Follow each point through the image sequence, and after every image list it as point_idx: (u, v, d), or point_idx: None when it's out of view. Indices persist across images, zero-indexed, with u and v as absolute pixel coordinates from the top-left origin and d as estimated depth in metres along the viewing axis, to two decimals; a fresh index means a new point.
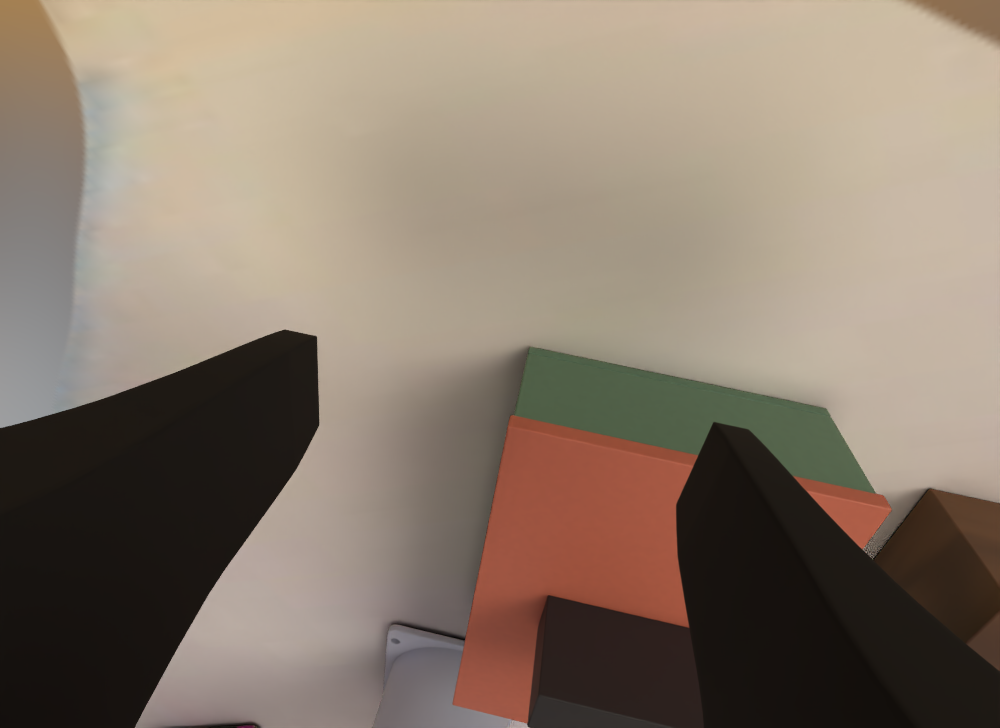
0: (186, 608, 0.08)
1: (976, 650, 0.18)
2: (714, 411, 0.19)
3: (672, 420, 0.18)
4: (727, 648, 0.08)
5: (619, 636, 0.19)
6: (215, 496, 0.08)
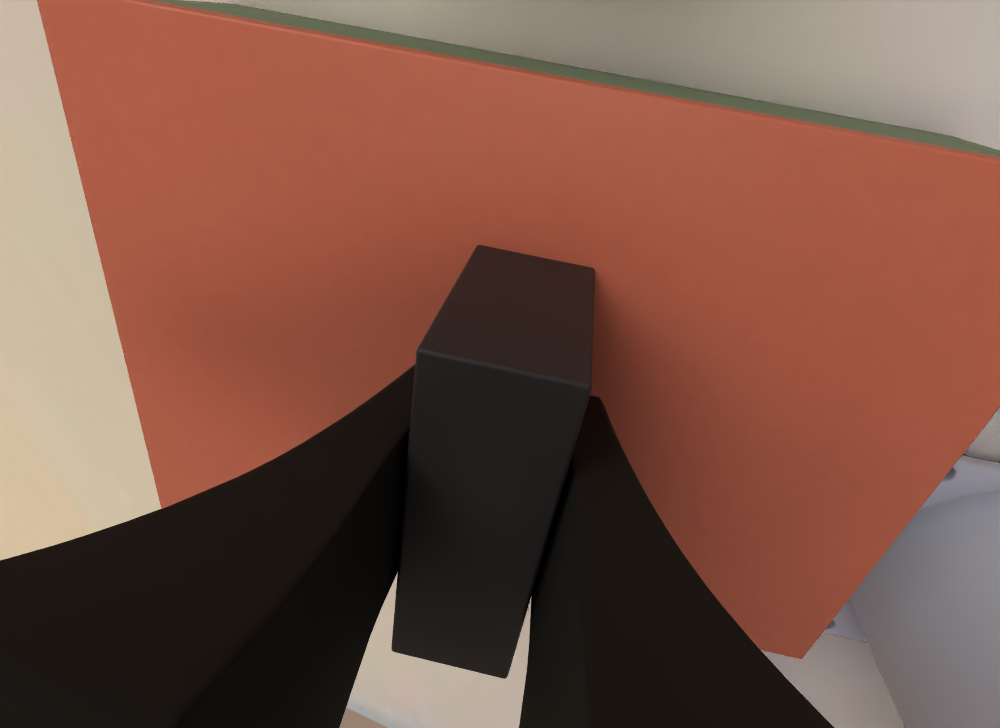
0: (360, 650, 0.08)
1: None
2: None
3: None
4: (542, 604, 0.08)
5: None
6: (388, 536, 0.08)
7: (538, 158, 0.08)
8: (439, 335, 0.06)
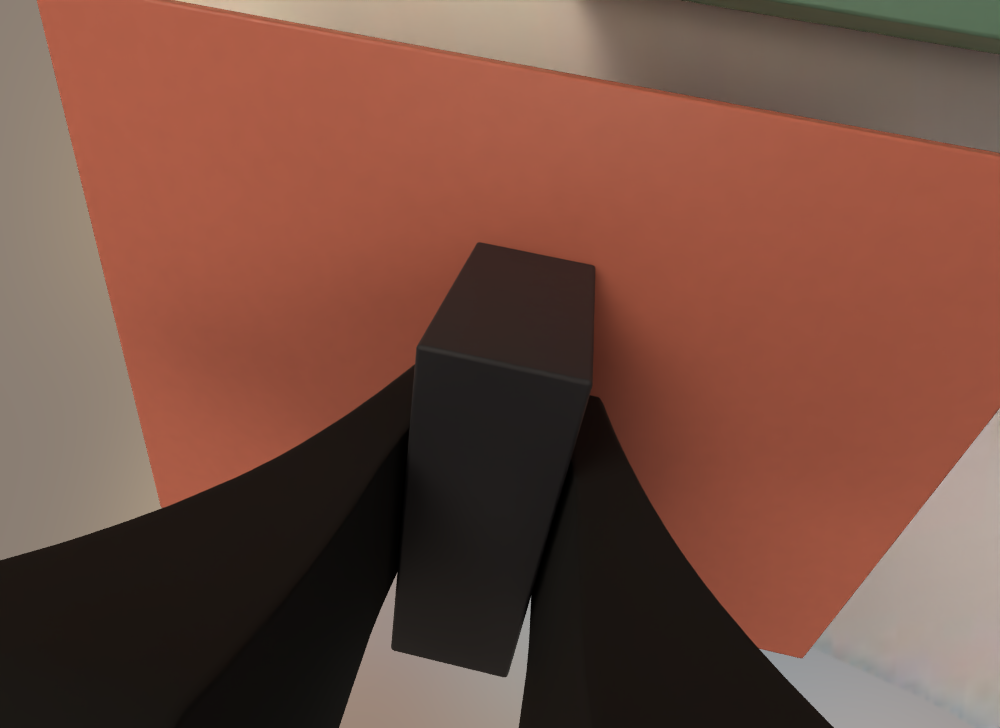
0: (360, 650, 0.08)
1: None
2: None
3: None
4: (542, 604, 0.08)
5: None
6: (387, 536, 0.08)
7: (539, 155, 0.08)
8: (439, 332, 0.06)
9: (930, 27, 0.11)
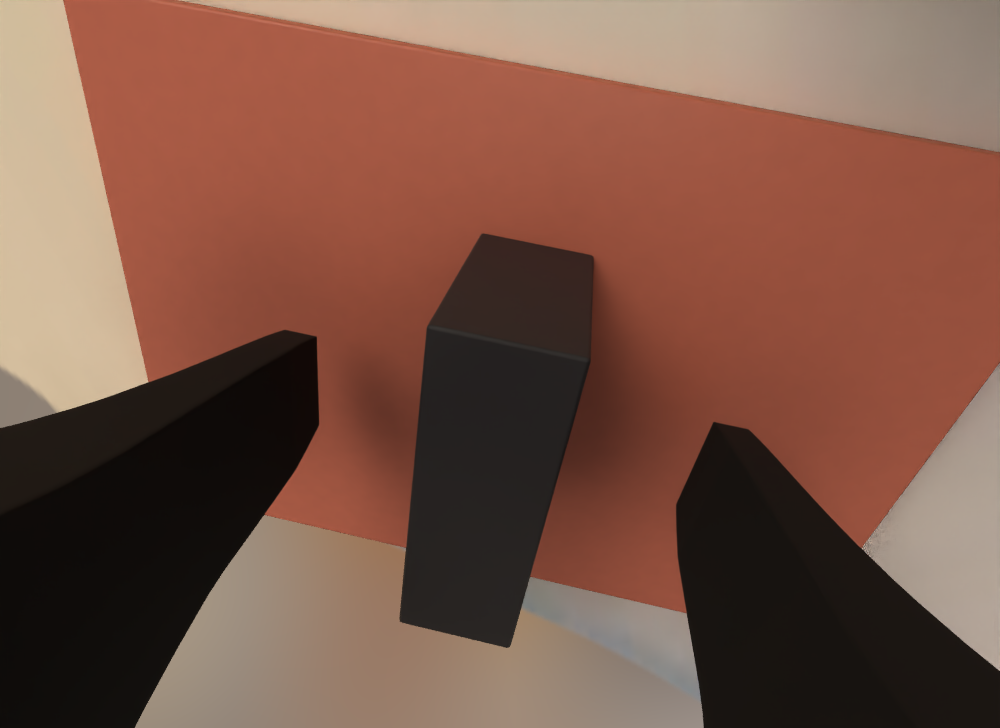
0: (187, 608, 0.08)
1: None
2: None
3: None
4: (726, 648, 0.08)
5: None
6: (216, 496, 0.08)
7: (540, 150, 0.09)
8: (447, 313, 0.07)
9: None
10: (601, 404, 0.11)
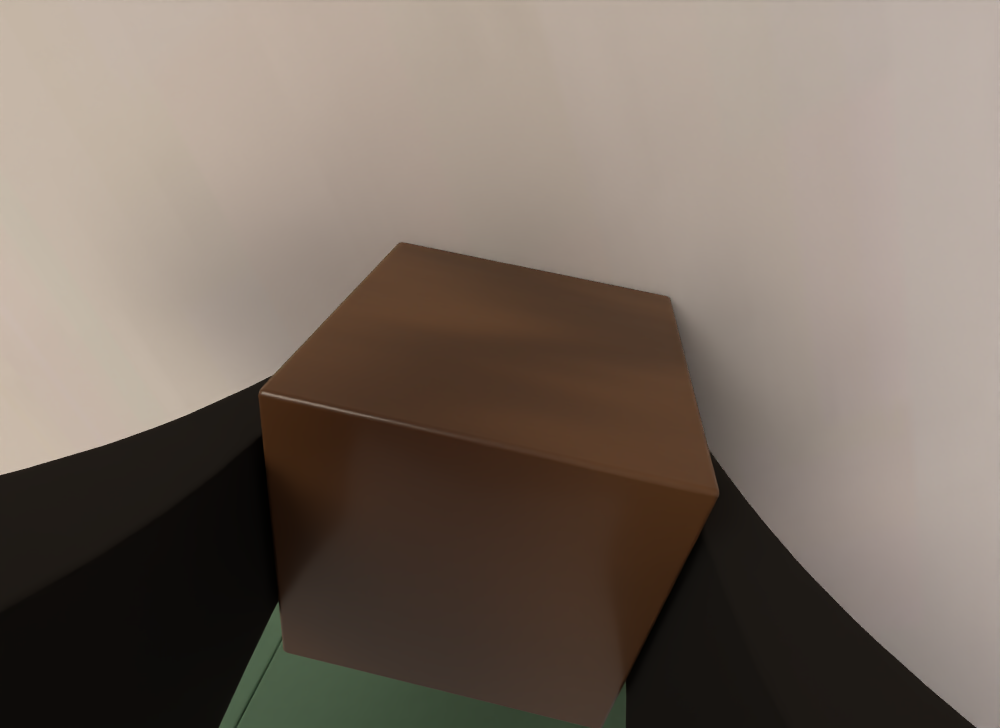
0: (256, 625, 0.08)
1: (439, 676, 0.08)
2: None
3: None
4: None
5: None
6: None
7: None
8: None
9: None
10: None
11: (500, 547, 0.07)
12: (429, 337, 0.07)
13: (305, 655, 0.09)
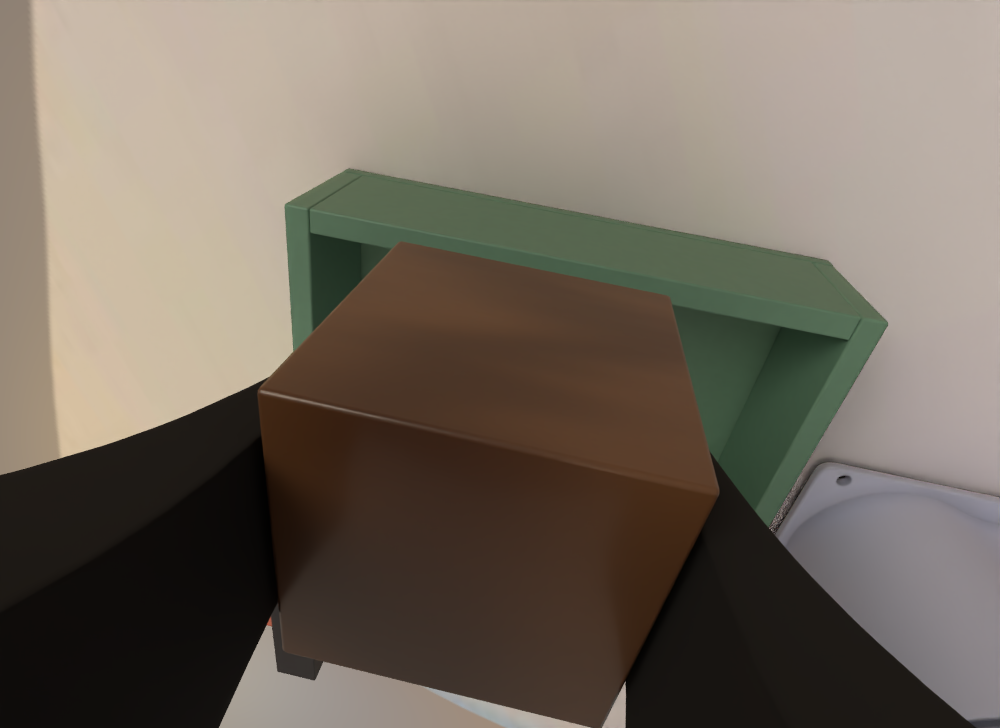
0: (256, 625, 0.08)
1: (438, 676, 0.08)
2: None
3: None
4: None
5: None
6: None
7: None
8: None
9: None
10: None
11: (500, 545, 0.07)
12: (428, 336, 0.07)
13: (304, 655, 0.08)
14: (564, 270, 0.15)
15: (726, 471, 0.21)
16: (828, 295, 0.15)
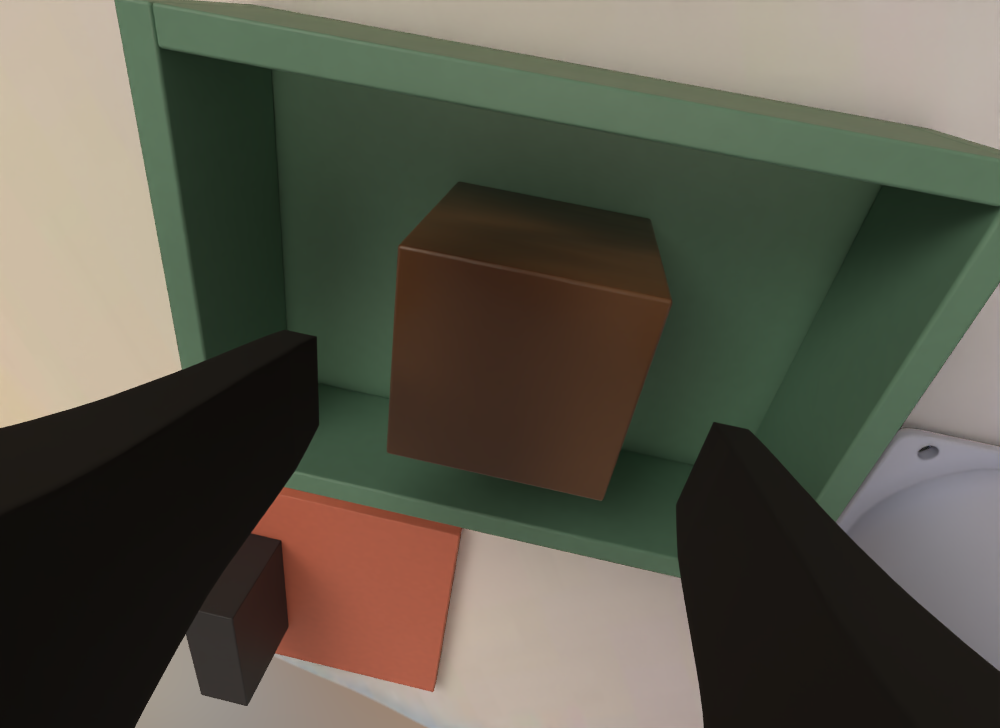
0: (187, 608, 0.08)
1: (494, 463, 0.12)
2: None
3: None
4: (727, 648, 0.08)
5: None
6: (215, 496, 0.08)
7: None
8: None
9: (461, 527, 0.15)
10: (304, 590, 0.24)
11: (539, 350, 0.11)
12: (491, 229, 0.11)
13: (402, 454, 0.13)
14: (551, 97, 0.09)
15: (773, 438, 0.15)
16: (960, 146, 0.10)
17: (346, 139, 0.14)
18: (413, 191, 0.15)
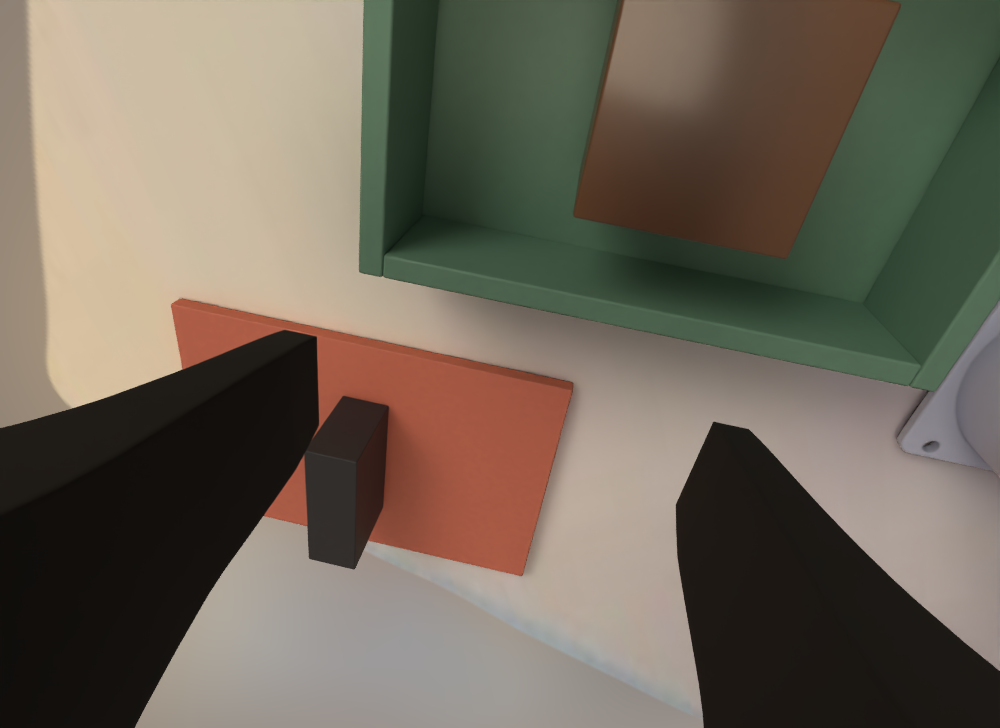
0: (187, 608, 0.08)
1: (683, 220, 0.13)
2: None
3: None
4: (726, 648, 0.08)
5: None
6: (215, 495, 0.08)
7: (360, 368, 0.22)
8: (312, 444, 0.20)
9: None
10: (405, 463, 0.24)
11: (755, 75, 0.11)
12: None
13: (589, 217, 0.13)
14: None
15: (918, 245, 0.16)
16: None
17: None
18: None
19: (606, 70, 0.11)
